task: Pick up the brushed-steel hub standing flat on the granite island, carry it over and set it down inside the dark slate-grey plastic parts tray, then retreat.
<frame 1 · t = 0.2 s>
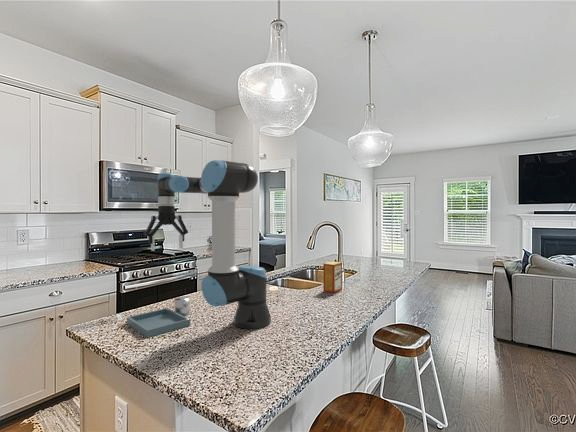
hand: (167, 249, 157), 27 cm above the countertop, fingers open, 13 cm apart
parts tray: (158, 324, 132), on the countertop
baking soda box: (332, 290, 183), on the countertop
gear: (226, 292, 181), on the countertop
hub: (182, 314, 144), on the countertop
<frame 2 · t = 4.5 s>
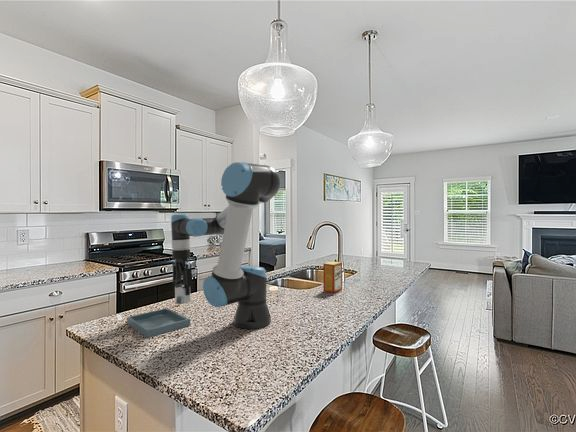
hand: (182, 300, 144), 6 cm above the countertop, fingers closed on hub, 6 cm apart
hub: (183, 301, 144), point 6 cm above the countertop, touching gripper
everything else where it was.
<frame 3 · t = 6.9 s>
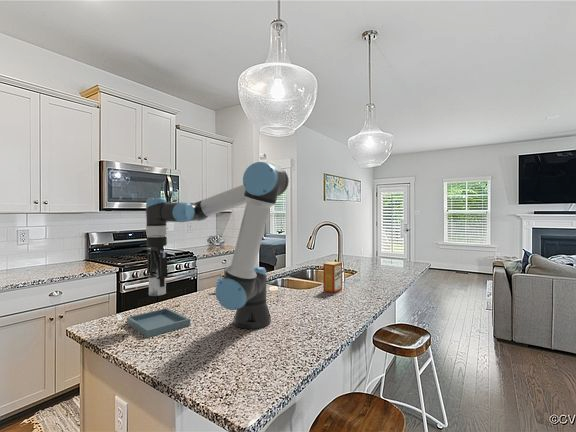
hand: (157, 292, 131), 13 cm above the countertop, fingers closed on hub, 6 cm apart
hub: (157, 293, 131), point 13 cm above the countertop, touching gripper
everything else where it was.
when the fingers open (1 cm above the countertop, at t = 9.2 s): hub stays where it is, resting on parts tray.
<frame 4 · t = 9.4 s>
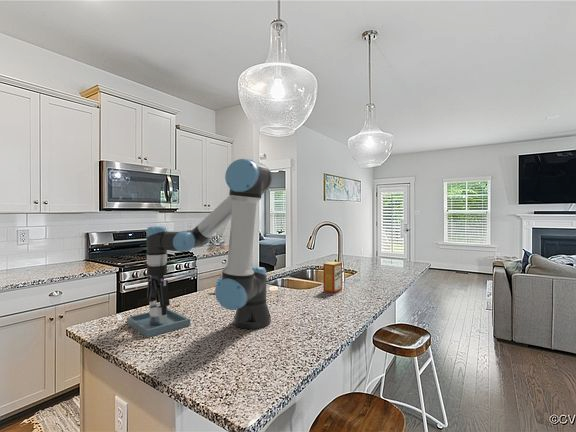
hand: (158, 319, 131), 2 cm above the countertop, fingers open, 9 cm apart
hub: (158, 323, 131), point 1 cm above the countertop, touching parts tray
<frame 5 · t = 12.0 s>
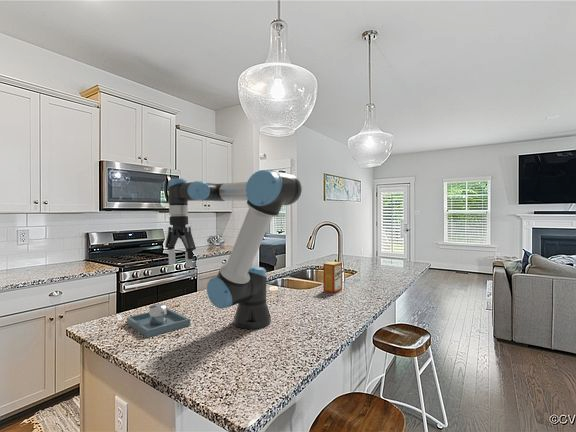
hand: (180, 265, 137), 23 cm above the countertop, fingers open, 13 cm apart
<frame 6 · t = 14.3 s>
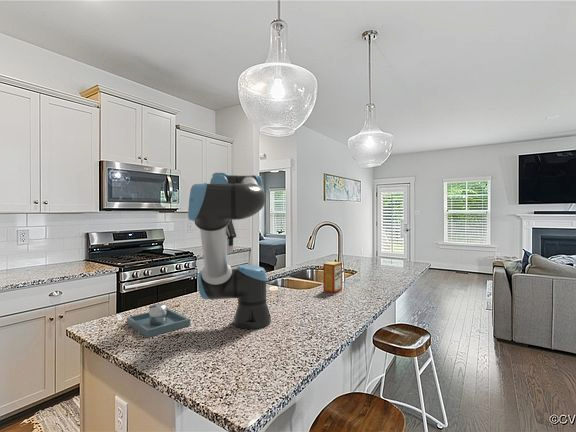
hand: (221, 251, 151), 27 cm above the countertop, fingers open, 13 cm apart
at the end: hub inside the target area on the parts tray (0.1 cm from its centre), point 0.7 cm above the parts tray's base; the gripper is holding nothing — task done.
